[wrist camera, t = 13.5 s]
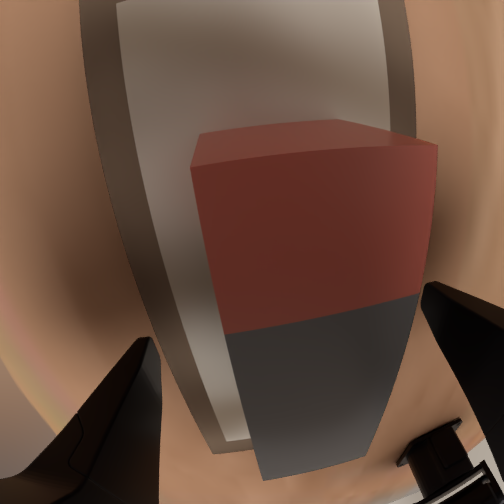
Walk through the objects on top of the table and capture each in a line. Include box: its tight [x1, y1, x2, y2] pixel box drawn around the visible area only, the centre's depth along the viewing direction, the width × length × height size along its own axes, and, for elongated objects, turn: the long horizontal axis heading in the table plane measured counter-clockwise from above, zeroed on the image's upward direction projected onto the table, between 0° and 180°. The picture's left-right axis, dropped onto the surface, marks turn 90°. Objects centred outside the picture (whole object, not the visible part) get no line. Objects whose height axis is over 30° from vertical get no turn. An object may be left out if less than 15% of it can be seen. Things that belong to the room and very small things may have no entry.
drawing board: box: [79, 0, 416, 454], centre depth 11 cm, size 24×10×1 cm, turn 7°
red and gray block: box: [190, 119, 438, 481], centre depth 9 cm, size 11×4×4 cm, turn 7°
